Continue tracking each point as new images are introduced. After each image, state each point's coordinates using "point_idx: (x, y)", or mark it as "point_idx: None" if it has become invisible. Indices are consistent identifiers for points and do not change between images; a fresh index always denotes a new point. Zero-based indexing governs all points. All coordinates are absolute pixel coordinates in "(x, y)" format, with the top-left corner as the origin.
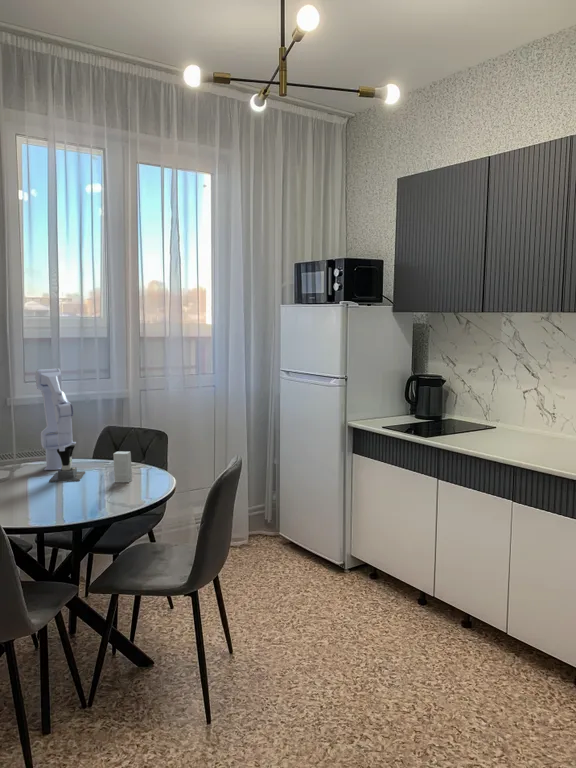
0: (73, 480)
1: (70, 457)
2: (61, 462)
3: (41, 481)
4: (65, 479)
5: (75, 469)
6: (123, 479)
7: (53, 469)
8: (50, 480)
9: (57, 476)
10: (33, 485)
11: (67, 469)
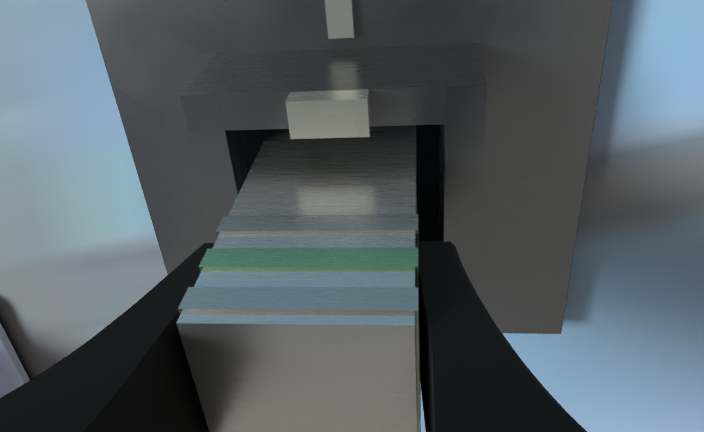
0: (606, 6)
1: (323, 321)
2: (420, 395)
3: None
4: (580, 143)
5: (279, 84)
6: None
7: (24, 375)
8: (561, 317)
9: None
10: (643, 423)
11: (416, 210)
